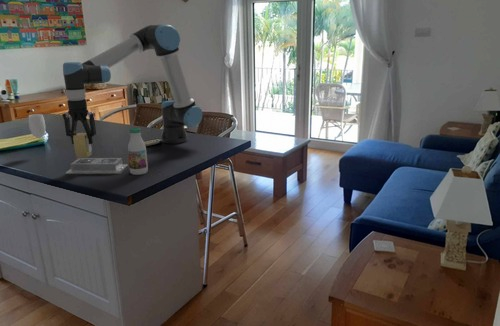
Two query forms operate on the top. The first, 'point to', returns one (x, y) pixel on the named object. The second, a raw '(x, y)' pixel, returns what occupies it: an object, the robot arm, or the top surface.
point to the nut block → (81, 145)
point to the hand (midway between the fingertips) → (83, 151)
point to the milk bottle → (137, 153)
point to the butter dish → (97, 166)
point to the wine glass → (37, 125)
